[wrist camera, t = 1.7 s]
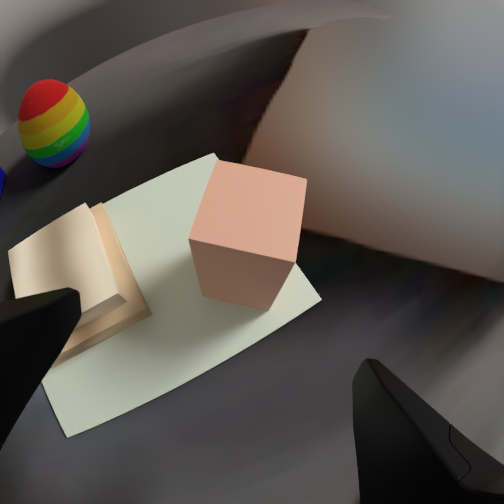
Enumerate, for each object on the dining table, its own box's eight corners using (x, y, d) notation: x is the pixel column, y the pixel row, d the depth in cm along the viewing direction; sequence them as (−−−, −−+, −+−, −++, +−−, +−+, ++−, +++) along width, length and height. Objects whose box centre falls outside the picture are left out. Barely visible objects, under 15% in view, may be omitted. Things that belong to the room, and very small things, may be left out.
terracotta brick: (268, 310, 21) (295, 262, 13) (202, 295, 21) (188, 238, 13) (280, 250, 24) (306, 179, 15) (218, 237, 24) (216, 159, 16)
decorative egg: (92, 167, 26) (60, 93, 17) (31, 185, 25) (-10, 123, 16) (100, 120, 30) (79, 53, 21) (45, 137, 28) (17, 78, 19)
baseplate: (69, 437, 16) (67, 437, 15) (12, 262, 21) (10, 260, 21) (320, 301, 22) (321, 299, 22) (213, 155, 28) (213, 152, 28)
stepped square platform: (51, 368, 18) (22, 362, 14) (23, 266, 21) (-1, 247, 17) (152, 314, 20) (137, 299, 17) (108, 215, 24) (93, 188, 20)
